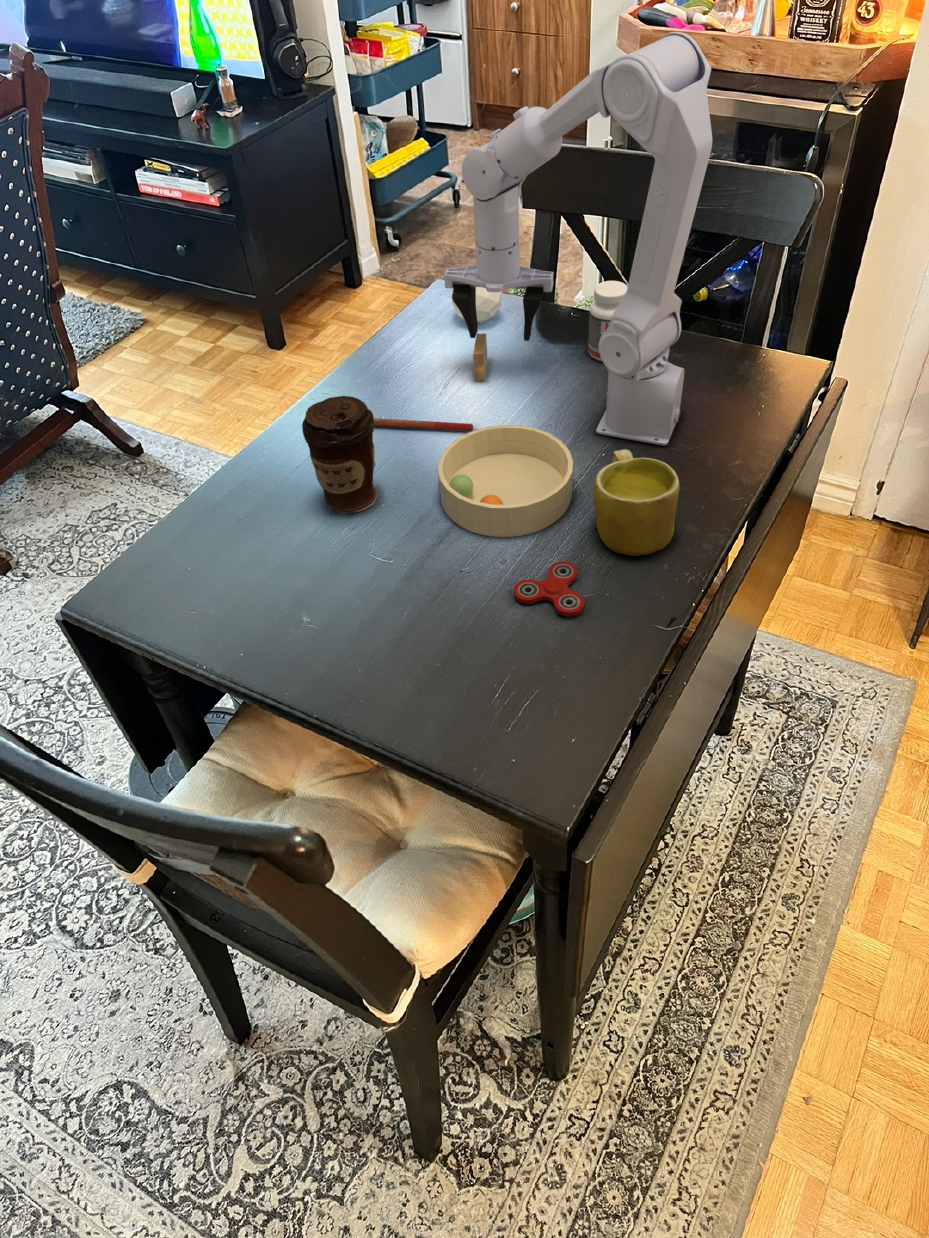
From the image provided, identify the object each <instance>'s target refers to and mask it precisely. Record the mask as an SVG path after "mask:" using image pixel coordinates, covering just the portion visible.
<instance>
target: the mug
mask: <svg viewBox="0 0 929 1238" xmlns="http://www.w3.org/2000/svg"><path fill="white" fill-rule="evenodd" d="M592 493H593V504H594V511H595V517H596V518H595V521H596V528H597V529H596V530H597V532H598V535H599V538H600V540H601V541H602V542H603V544H604V545H605V546H606V547H607V548H608V549H609V550H611V551H612V552H614V553H616V554H622V555H626V556H629V557H640V556H648V555H651V554H653V553H655V552H657V551H658V552H659V551H661V550H663V549H664V548H665V547H666V546H667V545H669V544H670V542H671V540H672V538H673V536H674V532H675V520H676V519H675V518H676V511H677V508H678V507H677V506H678V501H679V493H680V480H679V476H678V474H677V473H676V471H675V469H673V468H672V467H671V466H670V465H669V464H668V463H666V462H664V461H661V460H659V459H655V458H651V457H633V453H632V452H631V451H630V450H629V449H625V448H624V449H619V450H614V451H613V452H612V462H611V463H610V464H607V465H605V466H604V467H602V468H601V469H600V470H599V471H598V472H597V474H596V475H595V478H594V483H593V492H592Z"/></svg>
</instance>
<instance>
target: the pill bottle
mask: <svg viewBox="0 0 929 1238" xmlns="http://www.w3.org/2000/svg"><path fill="white" fill-rule="evenodd" d="M627 288H628V284H626V283H624V282H622V281H618V280H606V281H602V282H599V283H597V284H596V285H595V287H594V289H593V298H594V300H593V301H592V302H591V304H590V306H589V316H588V317H589V319H588V340H587V341H588V342H587V343H588V344H587V353H588V354H589V356H590V357H591V358H593V359H594V360H596V361H600V362H603V361H602V359H601V357H600V353H599V340H600V338H601V336H602V334H603V333H604V332H605V331H606V330H607V329H608V327H609V325H610V321H611V317H612V315H613V313H614V311H615V310H616V308H617V307H618V305H619V304H620V302H621V301H622V299H623V297H624V296H625V294H626V292H627Z"/></svg>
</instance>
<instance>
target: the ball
mask: <svg viewBox="0 0 929 1238" xmlns="http://www.w3.org/2000/svg"><path fill="white" fill-rule="evenodd" d="M452 294H453V288H451V295H452ZM502 297H503V290H502V291H501V292H487V291H486V288H483V287H476V313H477V323H478V324H483V323H484V322H486V321H488V320H490V319H492V318H493V317H494V316H495V315H496V313H497V311H499V309H500V307H501V306H502V300H503V298H502ZM451 303H452V306H453V308H454V311H455V313H456V315H457V316H459V317H460V318H461V319H463V320H464V318H463V316H462V314H461V312H460V310H459V309H458V307H457V306H456V304H455V303H454V302H453V299H452V298H451Z"/></svg>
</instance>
